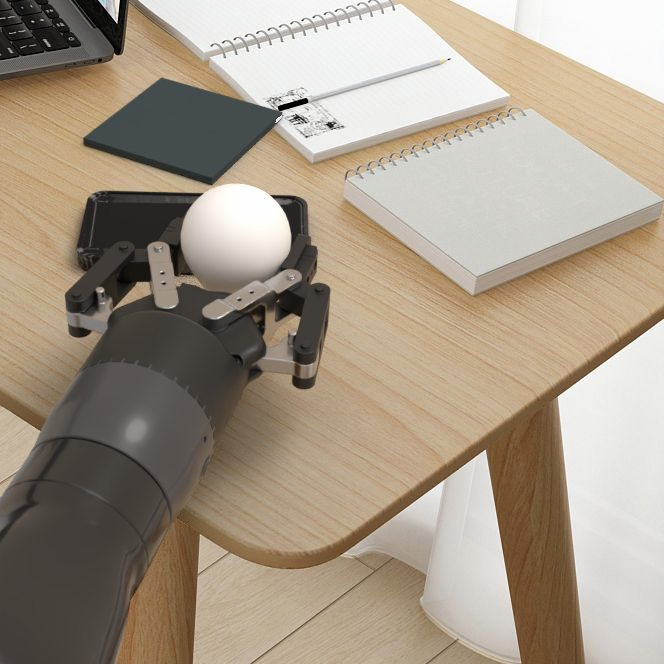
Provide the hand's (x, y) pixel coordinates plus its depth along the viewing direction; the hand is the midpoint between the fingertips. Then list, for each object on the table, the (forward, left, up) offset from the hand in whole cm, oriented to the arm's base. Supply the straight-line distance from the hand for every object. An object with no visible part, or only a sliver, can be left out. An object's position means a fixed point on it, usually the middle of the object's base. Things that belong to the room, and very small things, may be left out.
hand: (248, 236), depth 69 cm
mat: (-15, +19, -7) cm, 25 cm away
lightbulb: (0, -2, -7) cm, 7 cm away
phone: (-7, +7, -7) cm, 12 cm away
